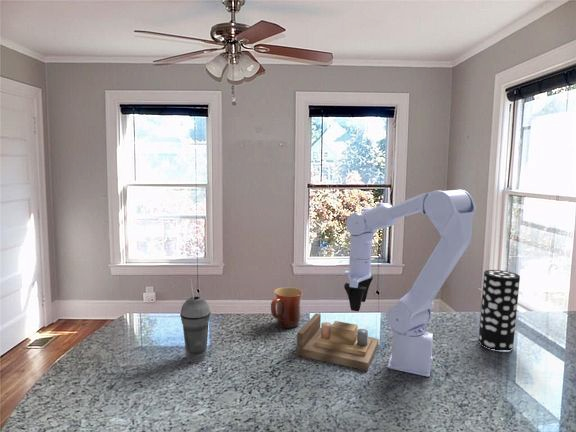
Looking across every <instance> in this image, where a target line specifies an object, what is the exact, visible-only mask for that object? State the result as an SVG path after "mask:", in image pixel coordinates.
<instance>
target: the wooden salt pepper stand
mask: <svg viewBox="0 0 576 432" xmlns="http://www.w3.org/2000/svg"><path fill="white" fill-rule="evenodd" d="M358 326H359V325H358V324H355V323H349V322H345V321H339V320H334V322H333V323H331V322H327V321H325V322H321V323H320V328H321V335H320V336H319V337H318V339H317V340H316V341H315V346H319V347H324V348H329V349H333V350H338V351H343V352H348V353H353V354H357V355H362V356H366V354H367V352H368V349H369V347H370V345H371V343H372V339H370V338H368V337H369V331H368V330H367V329H365V328H358Z"/></svg>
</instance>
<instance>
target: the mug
mask: <svg viewBox="0 0 576 432" xmlns="http://www.w3.org/2000/svg"><path fill="white" fill-rule="evenodd" d="M273 294H274V299H272V301H271V303H270V311H271V316H272V317H273V318H275V321H276V324H277V326H279V327H281V328H284V329H293V328H296V327H298V326H299V324H300V321H301V300H302V298H303V295H304V292H303V290H302V289H300V288H297V287H294V286H293V287H292V286H290V287H289V286H288V287H287V286H285V287H278V288H276V289H274V290H273Z"/></svg>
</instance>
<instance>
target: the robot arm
mask: <svg viewBox="0 0 576 432" xmlns="http://www.w3.org/2000/svg"><path fill="white" fill-rule="evenodd" d="M476 211H477V207H476V204H475V202H474V199H473V197H472V196H471V193H469V192H468V191H466V190H464V189H453V190H439V189H438V190H433V191H430V192H423V193H421V194H418V195H416V196H413V197H411V198H408V199H406V200H404V201H402V202H399V203H397V204H395V205H391V204H390V203H384V202H378V203H376V206H375V207H372V208H370V209H369V208H364V209H363V210H362V212H359V213H357V212H352V213H351V214H349V215H348V216H347V218H346V221H345V225H346V229H347V232H348V233H349V234H350V237H349V238H350V239H349V241H350V242H349V261H348V262H349V263H348V265H349V266H348V267H349V268H348V270H345V271H344V275H345V276H348V278H349V282H348V283H347V282H346V283H344V287H343V288H344V290H345V292H346V294H347V297H348V301H349V307H350V310H351V311H353V312H360V309H361V306H362V303H365V302H366V301H367V300H366V299H367V297H368V292H369V288H370V285H371V283H372V281H373V279H374V276H373V275H372V273H371V272H372V270H371V269H372V247H373V246H372V245H373V244H372V243H373V239H374V234H375V232H376V231H379V230H383V229H386V228H389V227H392V226H394V225H395V224H396V222H397V220H398V219H401V218H403V217H408V216H411V215H415V214H418V213H419V214H421V215H426V217H428V219H429V220H430V222H431V223H432V225H433V227H435V229H436V230H437V231H438V233H439V235H440V239H439V242H437V245H435V248H434V250H433V252H432V253H431V254H430V256H429V258H428V260H427V261H426V262H425V264H424V266H423V268H422V270H421V271H420V273H419V275H418V276H417V278H416V280H415V281H414V283H413V285H412V287H411V288H410V289H409V291H408V292H407V293H406V294H405V295H404V296H402V297H401V298H400V299H399V300H398V301H397V303H396V304H395V305H393V306H391V307H390V308H389V309H388V310H387V314H386V319H387V323H388V324H389V326H390V328H391V331H392V343H391V355H390V357H389V359H388V364H387V368H388V369H390V370H396V371H398V372H399V371H400V372H405V373H408V374H409V373H410V374H414V375H418V376H423V377H430V375H431V369H432V365H433V362H434V360H433V359H434V357H433V356H432V354H433V343H434V342H433V341H434V339H433V338H434V334H433V332H429V331H426V325H427V324H429V322H430V321H431V319H432V312H433V309H434V307H435V303H434V299H435V297H436V296H437V294H439V291H440V290H441V288H442V287H443V285H444V284H445V282H446V280H447V279H448V277H449V276H450V275H451V273H452V272H453V270H454V268H455V267H456V265H457V263H458V262H459V261H460V258H461V257H462V256H463V254H464V253H465V251H466V250H467V248H468V246H469V245H470V243H471V241H472V237H473V236H472V235H473V220H474V215H475V213H476Z"/></svg>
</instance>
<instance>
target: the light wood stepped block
mask: <svg viewBox="0 0 576 432" xmlns="http://www.w3.org/2000/svg"><path fill="white" fill-rule="evenodd" d="M321 317H322V315H321V313H314V315H312V316H311V318H309V320H308V321H307V322H305V324H304V325H303V326H302V327H301V328H300V329H299V330H298V331H297V332H296V333H297V334H296V356H299V357H303V358H307V359H308V358H309V359H313V360H317V361H321V360H322V362H325V361H327V362H326V363H330V362H332V363H331V364H334V363H337V364H336V365H339V364H342V365H341V366H343V365H346V366H345V367H348V366H350V367H349V368H352V367H354V369H356V368H359V369H358V370H361V369H362V371H365V370H367V371H366V372H368V371H369V369H370V367H371V365H372V362H373V360H374V358H375V355H376V353H377V350H378V347H379V342H380V341H379V340H380V339H379V338H375V337H371V336H368V338H370V339H372V343H371V345H370V347H369V349H368V352H367V354H366V356H362V355H357V354H353V353H348V352H343V351H338V350H333V349H329V348H324V347H319V346H315V341H316V340H317V339H318V337H319V336H320V335H321Z"/></svg>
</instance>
